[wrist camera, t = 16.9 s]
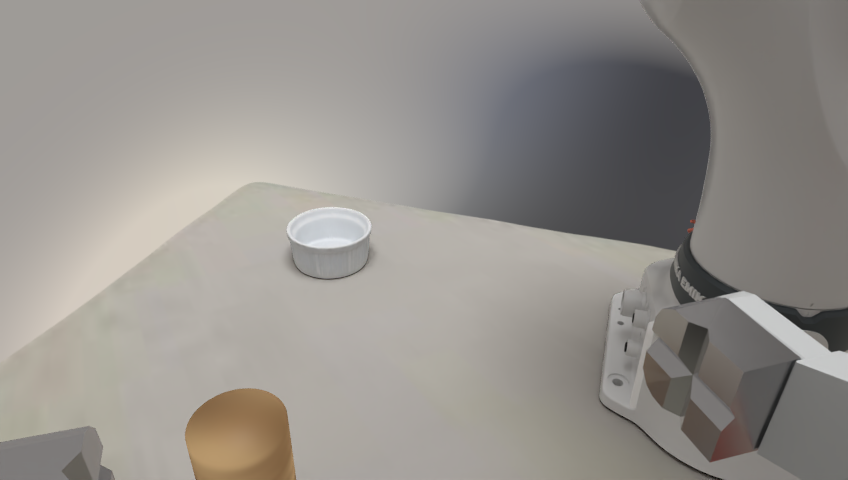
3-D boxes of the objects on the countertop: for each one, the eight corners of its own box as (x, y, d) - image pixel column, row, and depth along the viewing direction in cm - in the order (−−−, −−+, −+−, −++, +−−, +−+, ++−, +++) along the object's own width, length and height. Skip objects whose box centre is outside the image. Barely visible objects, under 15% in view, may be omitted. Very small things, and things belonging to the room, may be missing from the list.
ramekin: (329, 231, 72) (327, 198, 70) (389, 255, 68) (388, 221, 66) (272, 264, 66) (268, 229, 64) (334, 293, 62) (331, 257, 59)
